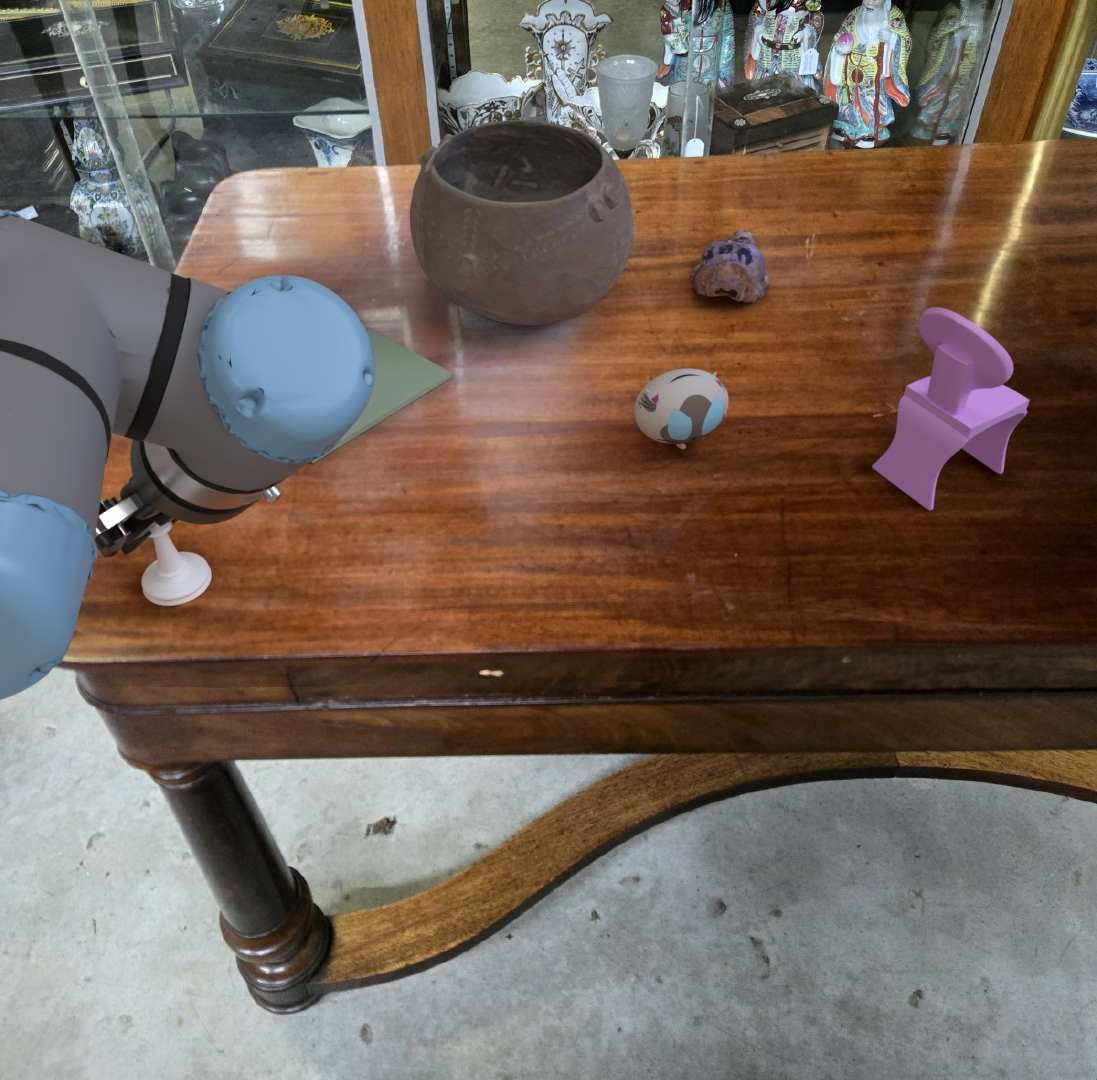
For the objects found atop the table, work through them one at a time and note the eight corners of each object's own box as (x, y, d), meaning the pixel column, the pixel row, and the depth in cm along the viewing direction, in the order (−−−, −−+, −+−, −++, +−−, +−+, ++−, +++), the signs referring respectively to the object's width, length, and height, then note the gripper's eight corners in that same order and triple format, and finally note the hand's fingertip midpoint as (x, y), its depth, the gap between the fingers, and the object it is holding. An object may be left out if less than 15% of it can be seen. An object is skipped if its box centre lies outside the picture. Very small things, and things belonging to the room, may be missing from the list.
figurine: (650, 475, 84) (654, 409, 79) (619, 432, 88) (622, 367, 83) (737, 451, 86) (747, 385, 81) (704, 410, 90) (711, 345, 85)
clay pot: (664, 332, 98) (675, 181, 88) (453, 379, 94) (438, 225, 83) (583, 232, 113) (584, 91, 102) (396, 268, 108) (377, 124, 97)
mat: (312, 464, 86) (311, 458, 85) (187, 379, 94) (185, 374, 94) (451, 377, 94) (451, 372, 93) (324, 307, 103) (323, 302, 102)
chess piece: (217, 556, 78) (183, 453, 71) (204, 605, 74) (166, 502, 67) (152, 558, 78) (110, 456, 71) (135, 607, 74) (90, 504, 67)
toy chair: (1017, 478, 83) (1082, 315, 72) (939, 518, 80) (995, 355, 69) (938, 423, 88) (988, 265, 78) (862, 460, 85) (903, 299, 74)
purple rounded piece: (717, 242, 110) (730, 190, 105) (785, 266, 108) (802, 215, 103) (675, 303, 102) (687, 250, 98) (748, 330, 101) (764, 277, 96)
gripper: (133, 578, 53) (72, 628, 73) (360, 436, 61) (250, 516, 81) (43, 454, 52) (6, 539, 71) (287, 326, 60) (193, 434, 79)
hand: (136, 526), depth 76 cm, fingers closed on chess piece, 2 cm apart
